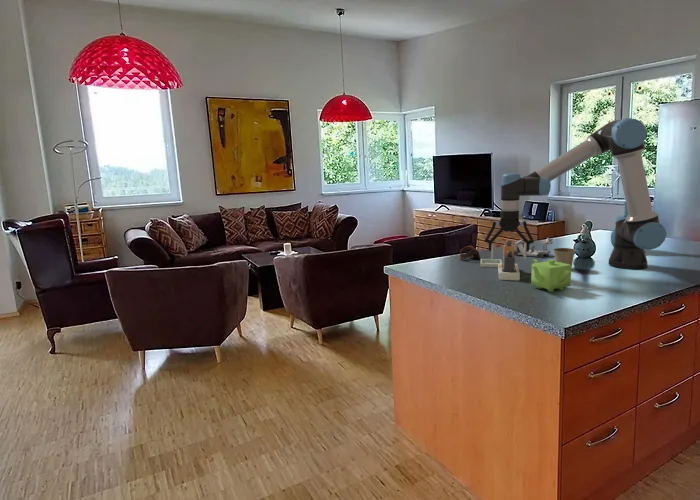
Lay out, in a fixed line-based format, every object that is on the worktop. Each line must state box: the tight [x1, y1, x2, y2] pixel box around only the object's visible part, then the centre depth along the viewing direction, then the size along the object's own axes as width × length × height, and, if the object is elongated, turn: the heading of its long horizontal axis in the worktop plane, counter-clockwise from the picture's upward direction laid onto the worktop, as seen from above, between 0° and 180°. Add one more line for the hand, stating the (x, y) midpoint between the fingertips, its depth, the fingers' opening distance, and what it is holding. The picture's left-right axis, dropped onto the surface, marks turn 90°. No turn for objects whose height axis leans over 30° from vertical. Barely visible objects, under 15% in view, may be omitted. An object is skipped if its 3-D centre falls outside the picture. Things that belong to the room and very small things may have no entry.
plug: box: [502, 240, 514, 267], centre depth 207 cm, size 4×5×14 cm
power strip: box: [497, 251, 521, 281], centre depth 203 cm, size 8×18×11 cm, turn 164°
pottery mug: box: [459, 245, 481, 261], centre depth 235 cm, size 12×10×8 cm
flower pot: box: [552, 247, 577, 269], centre depth 211 cm, size 9×9×9 cm
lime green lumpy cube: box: [530, 258, 572, 293], centre depth 180 cm, size 15×14×11 cm
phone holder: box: [513, 236, 554, 259], centre depth 241 cm, size 18×10×12 cm
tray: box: [479, 258, 503, 268], centre depth 222 cm, size 10×11×2 cm
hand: (508, 258), depth 207 cm, fingers open, 13 cm apart
